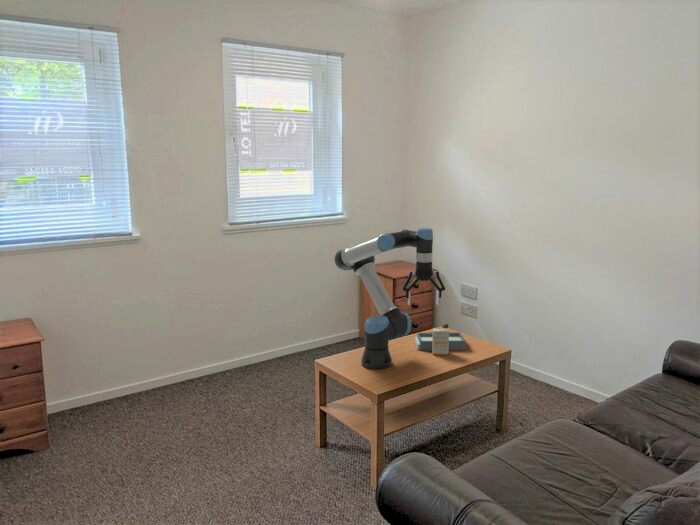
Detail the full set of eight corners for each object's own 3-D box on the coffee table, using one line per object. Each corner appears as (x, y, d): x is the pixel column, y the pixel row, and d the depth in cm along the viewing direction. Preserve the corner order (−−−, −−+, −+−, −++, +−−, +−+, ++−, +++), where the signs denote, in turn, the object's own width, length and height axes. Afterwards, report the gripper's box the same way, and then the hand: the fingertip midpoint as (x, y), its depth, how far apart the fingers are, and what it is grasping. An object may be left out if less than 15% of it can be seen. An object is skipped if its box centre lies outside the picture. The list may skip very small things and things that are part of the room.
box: (417, 350, 292) (418, 341, 291) (414, 341, 306) (414, 332, 305) (465, 349, 292) (465, 340, 291) (460, 340, 306) (460, 332, 305)
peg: (440, 344, 301) (441, 323, 298) (447, 344, 301) (447, 323, 298) (441, 346, 297) (442, 325, 295) (448, 346, 297) (448, 325, 295)
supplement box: (447, 352, 289) (448, 328, 287) (448, 355, 285) (449, 331, 282) (431, 351, 290) (432, 327, 287) (432, 354, 285) (432, 330, 283)
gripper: (398, 262, 255) (397, 307, 259) (452, 262, 255) (450, 306, 259) (396, 259, 262) (396, 302, 267) (449, 259, 263) (448, 302, 267)
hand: (423, 304), depth 263 cm, fingers open, 13 cm apart
